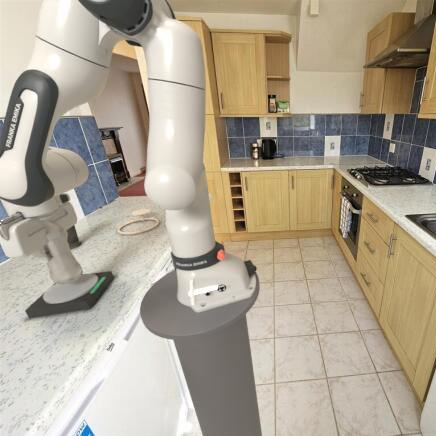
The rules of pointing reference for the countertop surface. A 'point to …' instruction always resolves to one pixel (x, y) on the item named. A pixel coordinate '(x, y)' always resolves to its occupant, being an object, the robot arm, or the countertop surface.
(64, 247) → the plastic bottle
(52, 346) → the countertop surface
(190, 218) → the robot arm
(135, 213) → the hand towel holder
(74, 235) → the beverage cup
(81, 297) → the kitchen scale
